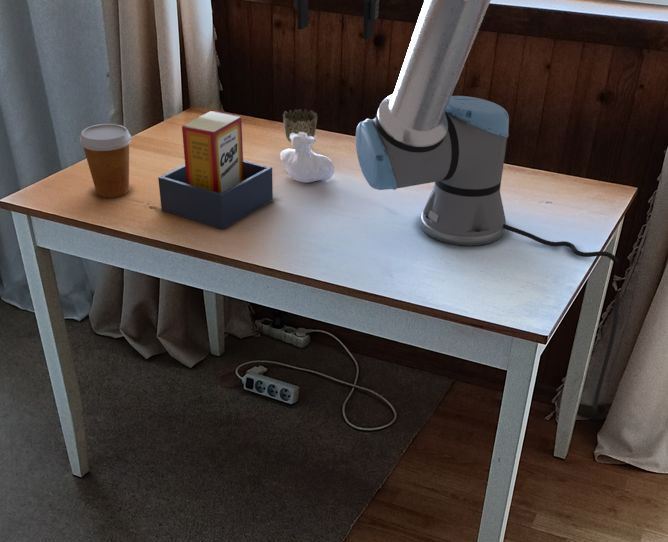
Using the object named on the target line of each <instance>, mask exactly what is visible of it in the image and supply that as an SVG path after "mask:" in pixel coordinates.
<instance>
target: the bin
mask: <svg viewBox="0 0 668 542" xmlns="http://www.w3.org/2000/svg"><path fill="white" fill-rule="evenodd" d="M243 169H244V181H242V182H240V183H238V184H237V185H235V186H233V187H231V188H229V189H227V190H226V191H224V192H222V193H217V192H214V191H210V190H207V189H203V188H200V187H197V186H193V185H190V184H187V181H186V169H185V164H183V165H180V166H179V167H177V168H174V169H172V170H170V171H168V172H166V173H164V174H161V175H159V176H158V177H157V179H158V190H159V198H160V207H161V208H160V209H161V211H163V212H166V213H169V214H173V215H175V216H179V217H182V218H185V219H188V220H192V221H195V222H197V223H201V224H205V225H207V226H210V227H214V228H215V229H216V228H217V229H220V230H224V229H227V228H228V227H230V226H232V225H233V224H235V223H236V222H238V221H240V220H242V219H243V218H245V217H247V216H248V215H250V214H251V213H253V212H255V211H257V210H258V209H260V208H261V207H264V206H265V205H267V204H268V203H270V202H272V201H273V200H274V191H273V189H274V187H273V167H271V166H267V165H264V164H260V163H257V162H253V161H249V160H245V159H243Z"/></svg>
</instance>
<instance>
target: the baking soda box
mask: <svg viewBox="0 0 668 542" xmlns="http://www.w3.org/2000/svg"><path fill="white" fill-rule="evenodd" d="M242 125H243V123H242V116H241V115H240V116H239V115H234V114H230V113H224V112H219V111H215V110H214V111H213V110H210V111H208V112H206V113H204V114H202V115H200V116H197V117H195V118H193V119H192V120H190V121H188V122H186V123H185V124H183V125H182V126H181V131H182V132H181V133H182V144H183V157H184V165H185V169H186V181H187V184H190V185H193V186H197V187H200V188H203V189H207V190H210V191H214V192H217V193H222V192H224V191H226V190H227V189H229V188H231V187H233V186H235V185H237V184H238V183H240V182H242V181H244V169H243V160H244V152H243V151H244V149H243V147H244V146H243V126H242Z"/></svg>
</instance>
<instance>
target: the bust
mask: <svg viewBox="0 0 668 542" xmlns="http://www.w3.org/2000/svg"><path fill="white" fill-rule="evenodd" d="M289 138H290V140H291V143H290V145H291V148H285V149H283V150H282V151H281V152H280V155H279V156H280V161H281V163H282V165H283V167H284V168H285V170H286V173H287V175H288V176H289V177H291V178H292V179H293V180H295V181H297V182H299V183H305V184H306V183H308V184H309V183H313V182H316V181H323V180H325V181H328V180H330V179H331V178H332V177H333V175H334V172H335V165H334V162H333V161H332V160H331V158H329V157H328V156H326V155H322V154H319V153H316V152H315V151H314V150H313V149H312V147H313V145H314V144H315V143H316V142H317V137H316V136H314V138H313V137H312V136H309V137H308V136H307V133H303V132H299V133H298V134H295V133H291V134H290V137H289ZM292 148H295V149H292Z"/></svg>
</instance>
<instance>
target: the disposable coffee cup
mask: <svg viewBox="0 0 668 542" xmlns="http://www.w3.org/2000/svg"><path fill="white" fill-rule="evenodd" d="M131 140H132V135H131V133H130V132H129V130H128V128H127V127H126V126H124V125H121V124H117V123H100V124H99V123H98V124H94V125H90V126H87V127H85V128H84V129H82V130H81V132H80V136H79V142H80V144H81V146H82V147H83V152H84V154H85V158H86V161H87V165H88V168H89V172H90V176H91V179H92V182H93V186H94V189H95V193H96V194H97V195H98V196H100V197H102V198H103V197H104V198H117V197H122V196H124V195H126V194H128V193H129V192H130V143H131Z"/></svg>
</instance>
